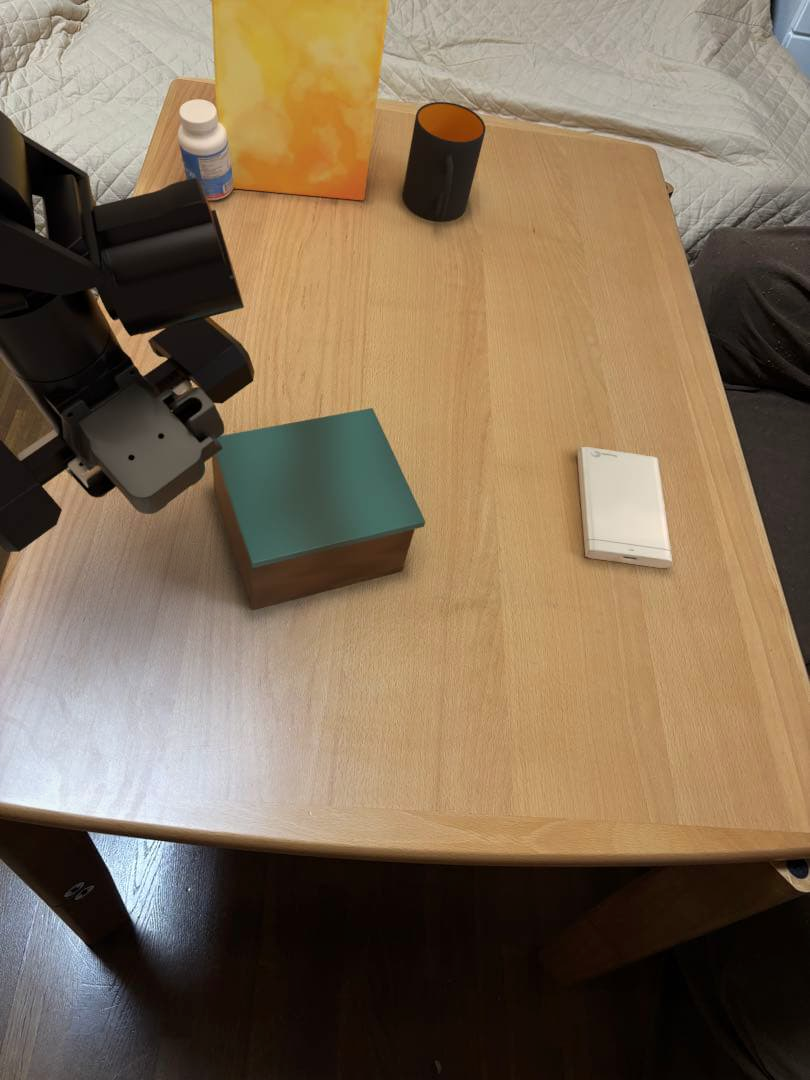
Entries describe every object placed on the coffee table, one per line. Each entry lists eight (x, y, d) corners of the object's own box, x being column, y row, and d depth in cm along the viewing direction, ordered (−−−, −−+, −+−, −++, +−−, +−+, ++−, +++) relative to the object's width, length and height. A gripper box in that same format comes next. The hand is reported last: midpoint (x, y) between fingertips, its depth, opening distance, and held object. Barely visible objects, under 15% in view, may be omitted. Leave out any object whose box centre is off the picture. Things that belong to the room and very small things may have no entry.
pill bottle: (182, 177, 95) (166, 99, 87) (226, 167, 97) (214, 89, 88) (196, 206, 93) (180, 130, 84) (240, 196, 94) (229, 119, 86)
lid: (371, 413, 71) (372, 407, 70) (424, 527, 65) (425, 521, 65) (210, 443, 66) (210, 437, 66) (251, 568, 61) (252, 563, 60)
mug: (402, 236, 96) (417, 155, 87) (401, 177, 103) (415, 96, 94) (469, 244, 97) (490, 166, 89) (464, 185, 104) (483, 107, 95)
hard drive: (581, 445, 80) (590, 548, 73) (659, 456, 81) (675, 560, 74) (575, 455, 81) (584, 557, 75) (652, 466, 82) (667, 569, 75)
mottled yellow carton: (359, 143, 105) (383, -69, 85) (363, 201, 98) (391, -14, 79) (223, 129, 102) (216, -95, 82) (219, 188, 95) (209, -40, 76)
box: (355, 462, 76) (363, 415, 71) (402, 571, 71) (415, 529, 65) (214, 491, 72) (210, 443, 66) (252, 610, 66) (251, 569, 61)
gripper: (-23, 541, 37) (107, 659, 51) (284, 323, 43) (326, 482, 56) (-127, 410, 41) (18, 552, 55) (164, 227, 47) (230, 397, 61)
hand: (153, 495), depth 57 cm, fingers closed
